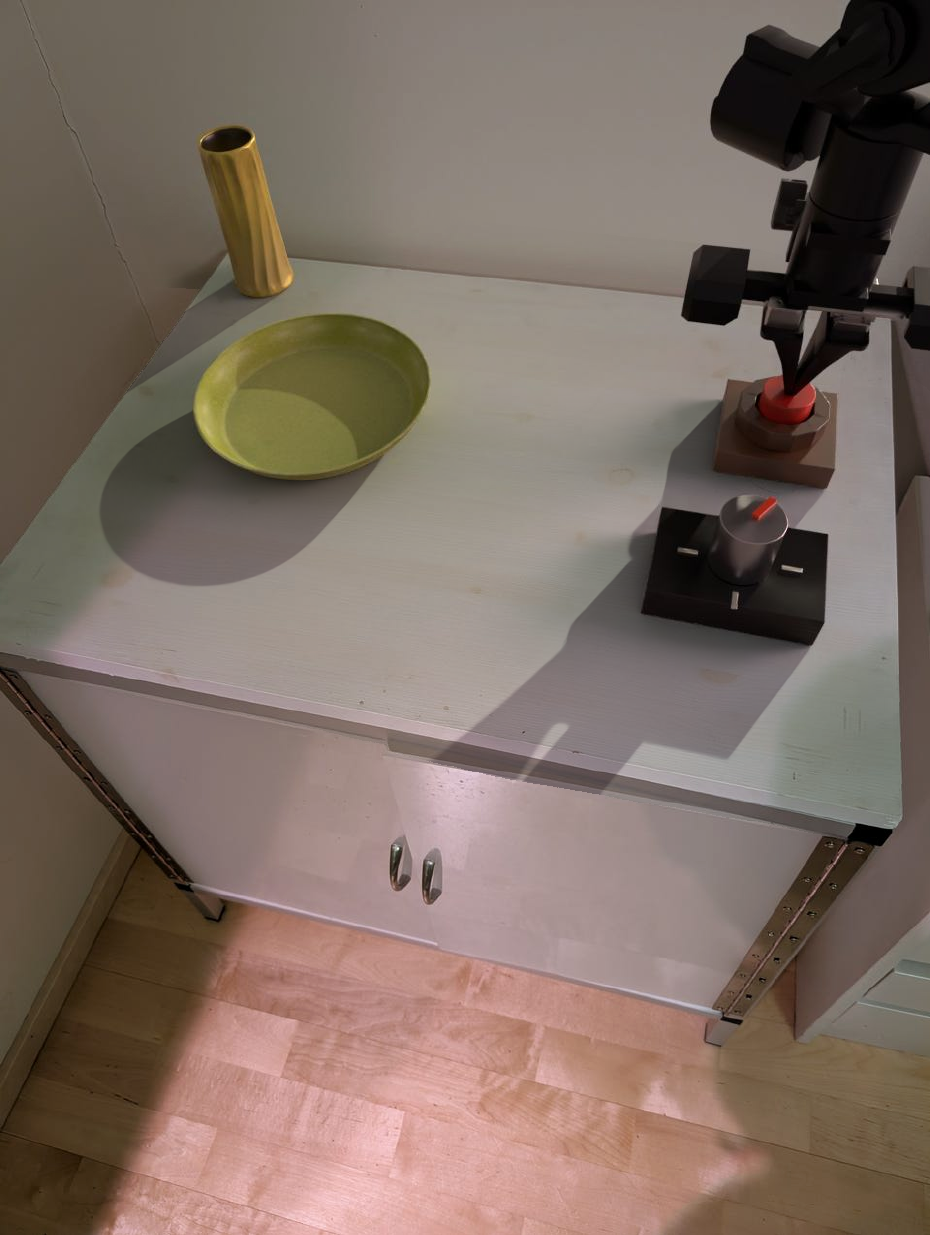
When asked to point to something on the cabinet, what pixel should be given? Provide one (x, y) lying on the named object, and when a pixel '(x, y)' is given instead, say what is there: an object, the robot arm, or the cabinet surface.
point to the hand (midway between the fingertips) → (790, 391)
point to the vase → (245, 210)
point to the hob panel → (765, 608)
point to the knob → (747, 539)
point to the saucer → (312, 395)
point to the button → (785, 402)
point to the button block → (775, 439)
